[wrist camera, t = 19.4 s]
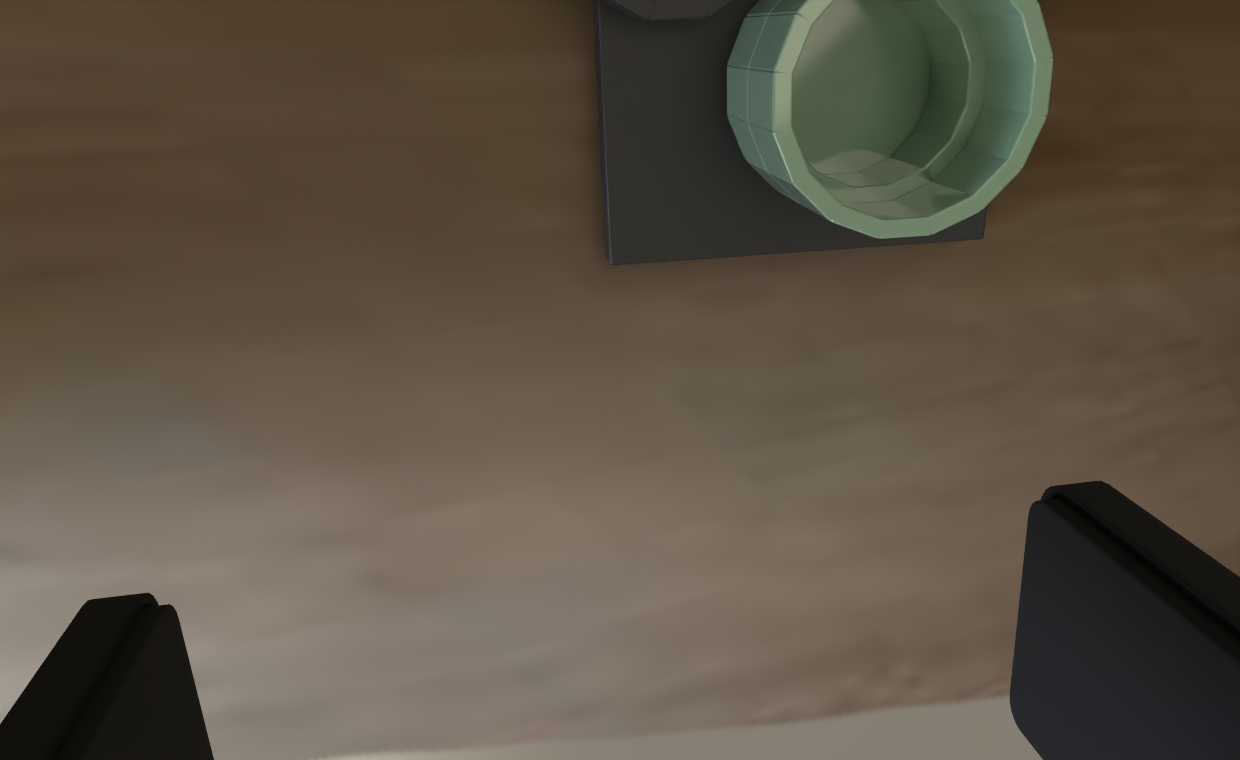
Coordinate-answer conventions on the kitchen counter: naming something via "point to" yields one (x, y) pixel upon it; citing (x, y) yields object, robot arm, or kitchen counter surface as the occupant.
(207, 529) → the kitchen counter surface
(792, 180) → the green cup
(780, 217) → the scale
